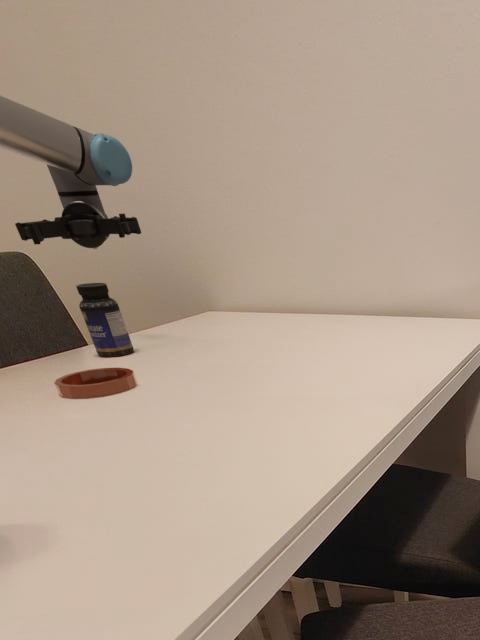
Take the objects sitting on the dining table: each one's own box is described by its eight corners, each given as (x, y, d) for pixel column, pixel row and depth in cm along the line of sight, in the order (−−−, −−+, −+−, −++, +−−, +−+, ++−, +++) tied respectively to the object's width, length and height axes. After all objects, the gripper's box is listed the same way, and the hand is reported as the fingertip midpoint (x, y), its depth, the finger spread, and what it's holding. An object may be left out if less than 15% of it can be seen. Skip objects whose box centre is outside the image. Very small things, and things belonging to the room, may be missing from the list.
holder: (51, 414, 80) (39, 387, 78) (89, 393, 88) (79, 368, 86) (122, 412, 80) (111, 385, 78) (154, 391, 88) (145, 366, 85)
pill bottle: (90, 356, 107) (62, 286, 100) (118, 348, 112) (93, 281, 105) (115, 358, 105) (88, 287, 98) (142, 350, 110) (118, 282, 103)
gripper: (158, 242, 126) (160, 251, 110) (24, 251, 118) (7, 261, 103) (144, 199, 121) (144, 201, 106) (5, 205, 113) (-17, 208, 98)
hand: (76, 231), depth 104 cm, fingers open, 13 cm apart
